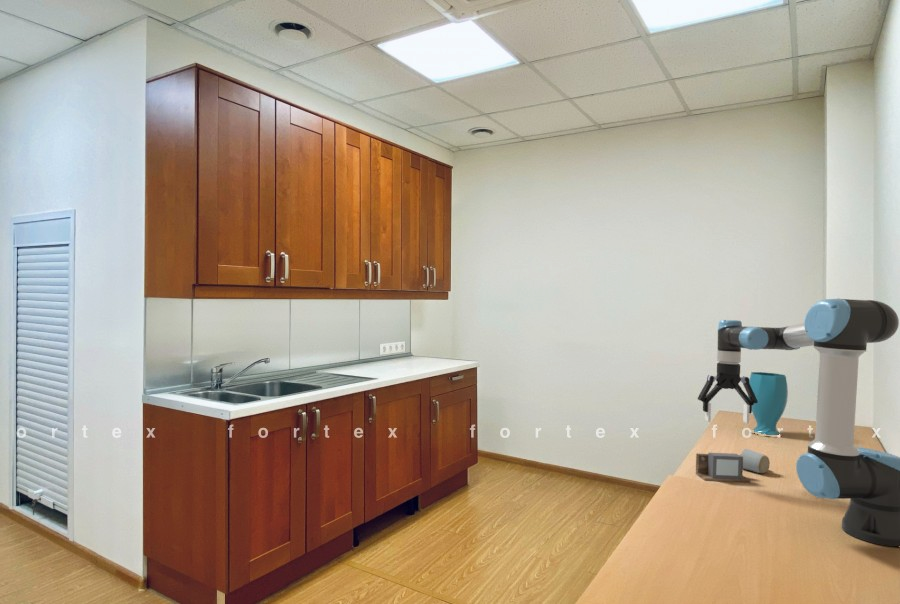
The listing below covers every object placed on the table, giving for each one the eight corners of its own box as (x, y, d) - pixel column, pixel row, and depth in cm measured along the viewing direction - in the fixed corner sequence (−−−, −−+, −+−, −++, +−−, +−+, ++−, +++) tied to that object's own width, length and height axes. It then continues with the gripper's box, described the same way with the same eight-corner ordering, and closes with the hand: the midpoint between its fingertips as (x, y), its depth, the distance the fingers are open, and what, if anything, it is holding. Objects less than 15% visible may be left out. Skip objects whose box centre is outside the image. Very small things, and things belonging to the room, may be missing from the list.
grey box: (741, 479, 192) (741, 456, 192) (712, 478, 192) (713, 455, 192) (735, 475, 196) (736, 453, 196) (707, 474, 197) (708, 452, 197)
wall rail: (750, 482, 192) (750, 461, 192) (704, 480, 192) (705, 459, 192) (739, 475, 199) (740, 455, 199) (695, 473, 200) (696, 453, 200)
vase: (738, 430, 275) (740, 372, 275) (764, 429, 281) (766, 371, 281) (767, 439, 259) (769, 376, 259) (794, 437, 264) (796, 376, 264)
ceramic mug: (760, 475, 200) (761, 455, 200) (738, 469, 207) (739, 449, 207) (774, 472, 206) (775, 452, 206) (753, 466, 213) (754, 446, 213)
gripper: (758, 362, 198) (756, 420, 198) (689, 360, 198) (687, 418, 198) (769, 365, 190) (767, 425, 190) (698, 362, 191) (696, 422, 191)
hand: (726, 421), depth 194 cm, fingers open, 13 cm apart
